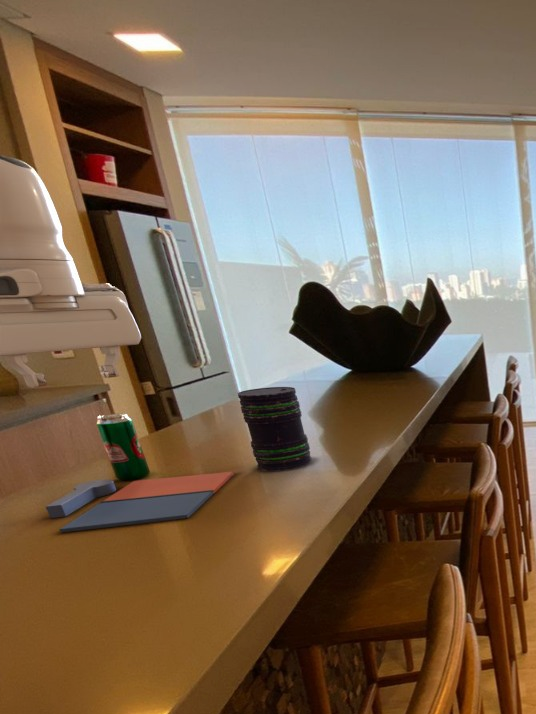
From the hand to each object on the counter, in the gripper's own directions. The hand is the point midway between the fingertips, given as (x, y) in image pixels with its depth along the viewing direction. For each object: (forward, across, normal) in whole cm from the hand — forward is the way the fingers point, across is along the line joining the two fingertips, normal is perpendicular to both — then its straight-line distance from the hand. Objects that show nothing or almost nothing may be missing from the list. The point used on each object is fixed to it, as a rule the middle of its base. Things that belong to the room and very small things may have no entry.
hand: (76, 381), depth 85 cm
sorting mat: (+21, -5, +2) cm, 21 cm away
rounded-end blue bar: (+21, 0, -10) cm, 23 cm away
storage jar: (+21, -27, +5) cm, 34 cm away
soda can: (+21, -12, -17) cm, 29 cm away
